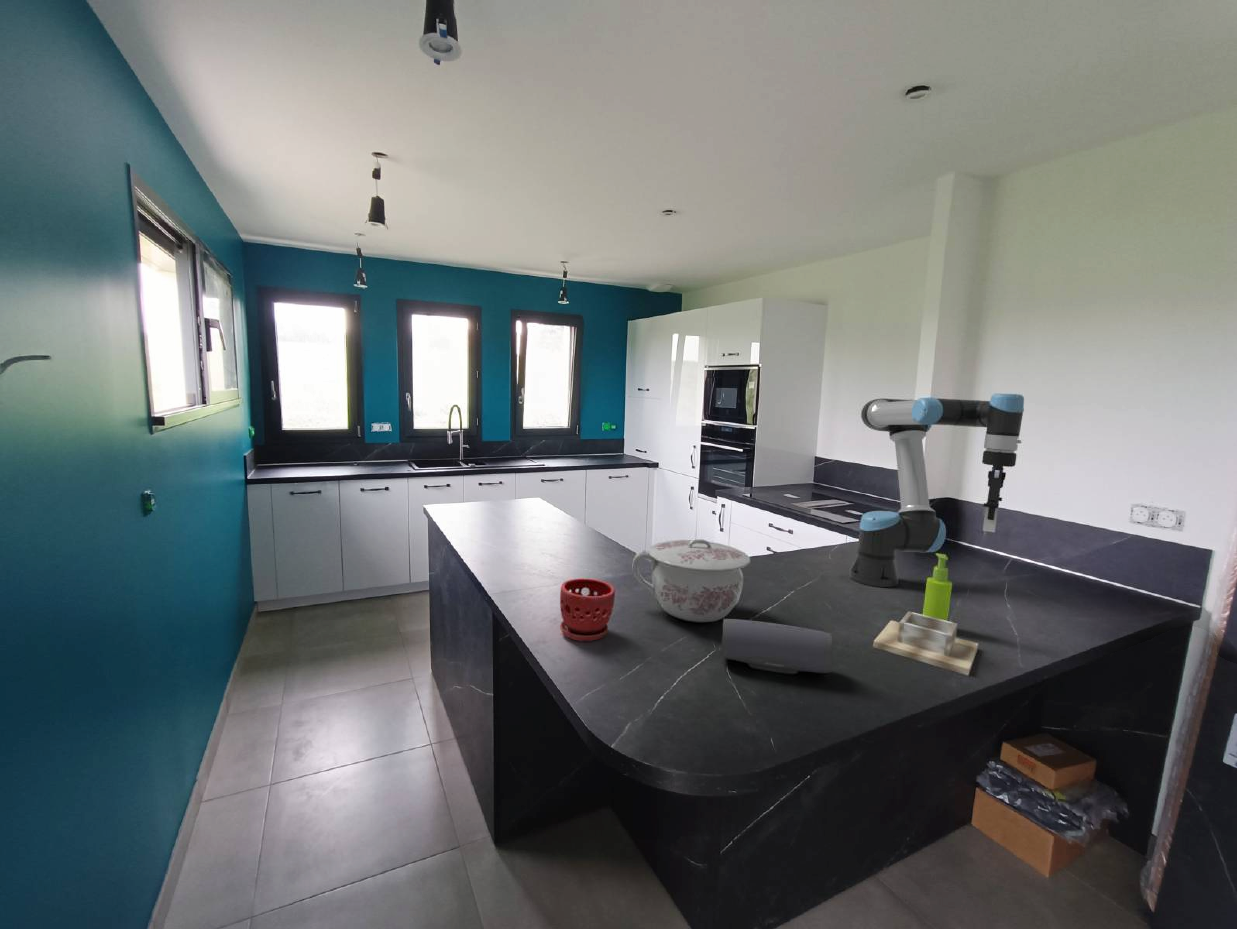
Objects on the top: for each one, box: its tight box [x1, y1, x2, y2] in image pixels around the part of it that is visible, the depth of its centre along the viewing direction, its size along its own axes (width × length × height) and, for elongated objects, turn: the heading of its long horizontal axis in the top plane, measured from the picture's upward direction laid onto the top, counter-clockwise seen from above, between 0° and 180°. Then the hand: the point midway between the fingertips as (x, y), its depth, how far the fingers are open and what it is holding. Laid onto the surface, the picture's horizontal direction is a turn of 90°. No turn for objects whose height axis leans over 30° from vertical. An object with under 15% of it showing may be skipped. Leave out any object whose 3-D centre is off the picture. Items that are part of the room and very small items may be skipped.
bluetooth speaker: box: [720, 618, 833, 675], centre depth 122 cm, size 23×9×10 cm, turn 77°
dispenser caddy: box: [872, 611, 979, 676], centre depth 136 cm, size 20×18×6 cm
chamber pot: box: [631, 538, 751, 623], centre depth 151 cm, size 28×28×21 cm
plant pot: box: [559, 578, 616, 642], centre depth 134 cm, size 13×13×12 cm
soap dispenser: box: [922, 552, 953, 621], centre depth 150 cm, size 6×7×20 cm
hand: (989, 527), depth 154 cm, fingers open, 13 cm apart
